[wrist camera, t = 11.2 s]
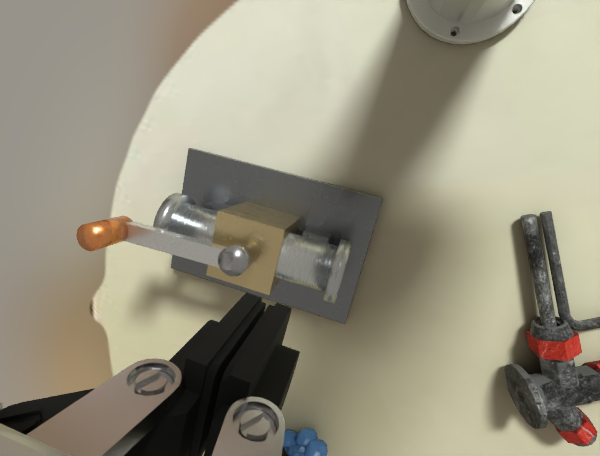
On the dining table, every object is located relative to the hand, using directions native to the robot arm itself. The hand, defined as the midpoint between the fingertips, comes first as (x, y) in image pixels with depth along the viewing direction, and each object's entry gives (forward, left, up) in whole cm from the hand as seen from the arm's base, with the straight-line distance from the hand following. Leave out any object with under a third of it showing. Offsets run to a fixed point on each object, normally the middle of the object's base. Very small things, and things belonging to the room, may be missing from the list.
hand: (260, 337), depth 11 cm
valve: (+5, +28, -29) cm, 41 cm away
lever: (+5, -13, -18) cm, 23 cm away
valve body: (+5, -7, -29) cm, 30 cm away
